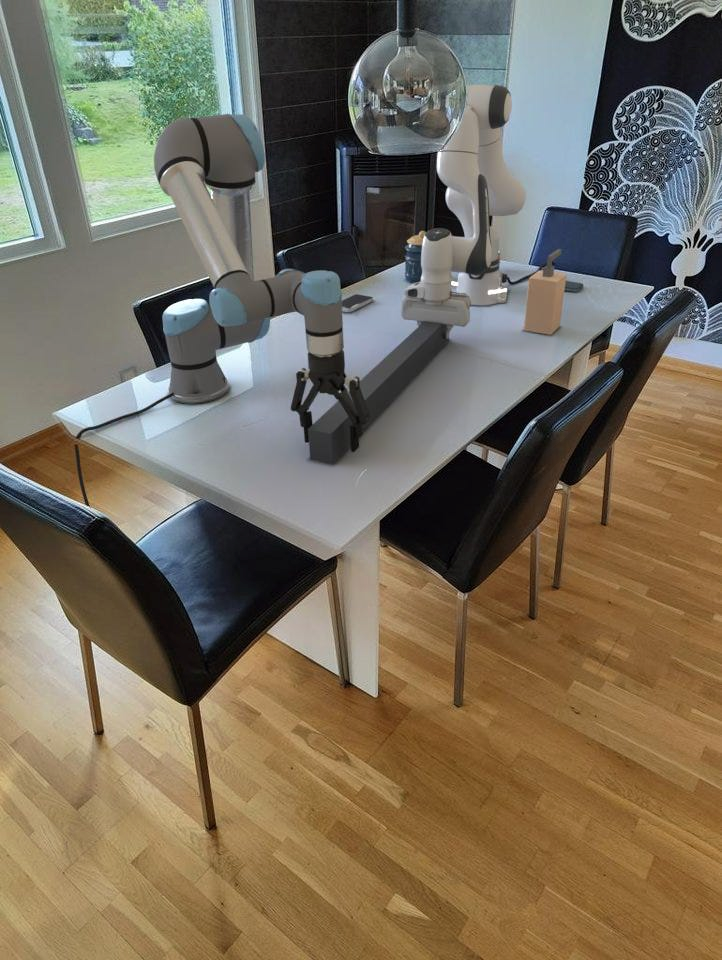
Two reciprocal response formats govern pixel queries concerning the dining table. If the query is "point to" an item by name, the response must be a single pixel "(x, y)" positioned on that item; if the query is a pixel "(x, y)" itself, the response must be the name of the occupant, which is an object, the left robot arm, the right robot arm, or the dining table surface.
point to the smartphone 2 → (573, 286)
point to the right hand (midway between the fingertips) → (434, 336)
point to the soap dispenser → (545, 299)
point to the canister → (414, 258)
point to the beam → (376, 390)
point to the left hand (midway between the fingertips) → (331, 444)
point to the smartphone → (355, 302)
